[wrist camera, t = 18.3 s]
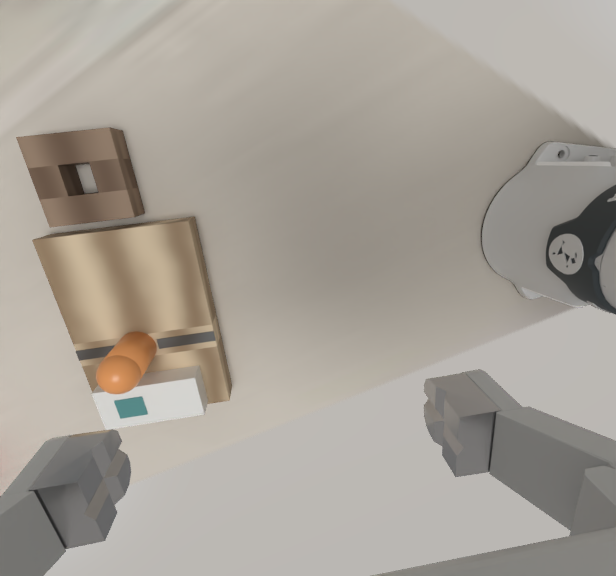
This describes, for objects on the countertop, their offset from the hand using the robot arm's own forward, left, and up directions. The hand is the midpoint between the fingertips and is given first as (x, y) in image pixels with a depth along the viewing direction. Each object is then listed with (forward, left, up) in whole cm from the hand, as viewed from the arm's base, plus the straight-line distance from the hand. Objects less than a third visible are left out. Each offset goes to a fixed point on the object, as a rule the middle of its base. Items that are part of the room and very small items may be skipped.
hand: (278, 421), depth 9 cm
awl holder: (+17, -7, -31) cm, 36 cm away
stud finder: (+16, +17, -28) cm, 36 cm away
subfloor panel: (+15, +9, -31) cm, 36 cm away
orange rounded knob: (+16, +11, -31) cm, 37 cm away
